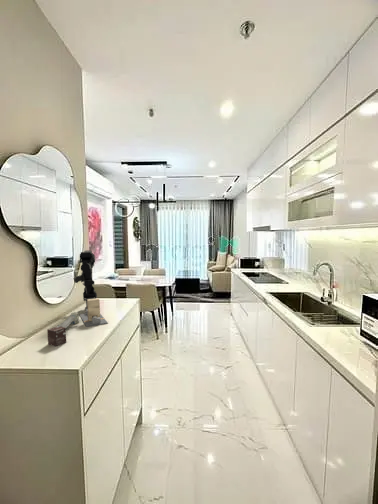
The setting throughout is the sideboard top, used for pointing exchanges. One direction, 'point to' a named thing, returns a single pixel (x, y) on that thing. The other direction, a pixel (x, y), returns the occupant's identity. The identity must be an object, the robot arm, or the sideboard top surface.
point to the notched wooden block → (93, 308)
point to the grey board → (93, 320)
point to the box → (56, 336)
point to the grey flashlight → (70, 320)
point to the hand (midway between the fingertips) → (88, 294)
